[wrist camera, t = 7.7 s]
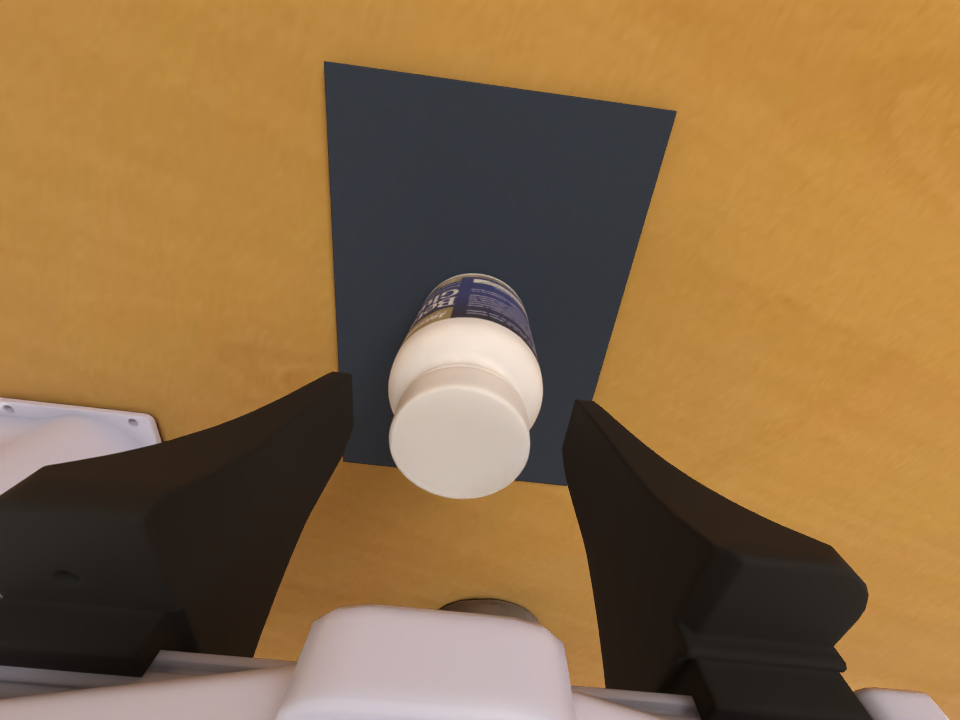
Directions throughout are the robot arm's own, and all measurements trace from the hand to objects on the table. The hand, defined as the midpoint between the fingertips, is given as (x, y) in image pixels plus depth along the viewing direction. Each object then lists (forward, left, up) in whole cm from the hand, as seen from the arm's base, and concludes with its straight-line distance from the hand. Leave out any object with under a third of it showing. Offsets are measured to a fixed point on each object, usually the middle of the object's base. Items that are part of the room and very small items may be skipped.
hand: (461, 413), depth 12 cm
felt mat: (0, 0, -8) cm, 8 cm away
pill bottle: (0, 0, -8) cm, 8 cm away
